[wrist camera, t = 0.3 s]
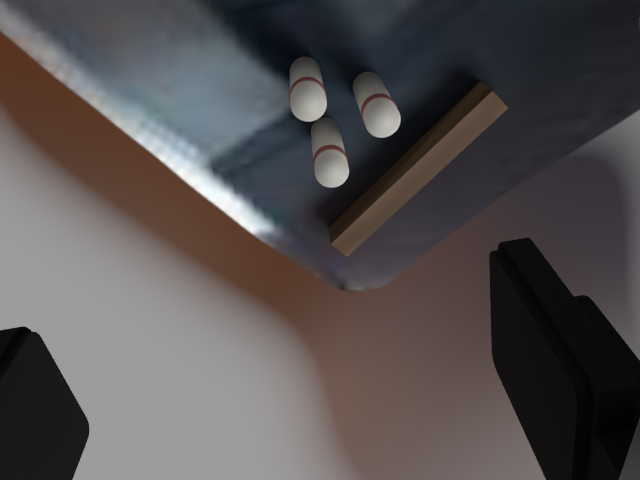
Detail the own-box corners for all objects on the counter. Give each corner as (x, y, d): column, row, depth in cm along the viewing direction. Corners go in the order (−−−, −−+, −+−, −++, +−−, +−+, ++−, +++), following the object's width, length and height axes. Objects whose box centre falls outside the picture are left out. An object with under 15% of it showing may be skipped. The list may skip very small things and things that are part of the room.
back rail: (328, 227, 51) (330, 244, 49) (480, 80, 45) (492, 90, 43) (344, 239, 52) (347, 256, 50) (495, 97, 46) (508, 108, 43)
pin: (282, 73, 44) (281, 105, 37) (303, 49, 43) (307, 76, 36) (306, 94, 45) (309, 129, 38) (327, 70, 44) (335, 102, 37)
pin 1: (304, 132, 47) (307, 173, 39) (324, 110, 46) (331, 148, 38) (325, 151, 48) (332, 194, 40) (346, 130, 47) (357, 170, 39)
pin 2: (345, 87, 45) (356, 122, 38) (367, 64, 44) (383, 94, 37) (367, 108, 46) (382, 145, 39) (389, 85, 45) (408, 119, 38)
